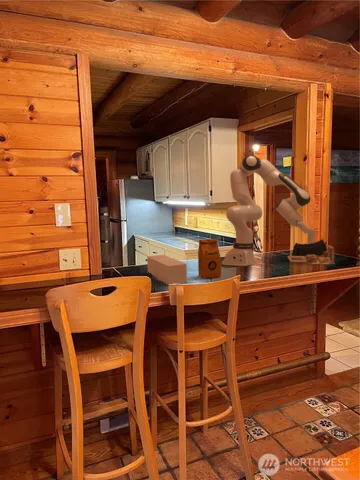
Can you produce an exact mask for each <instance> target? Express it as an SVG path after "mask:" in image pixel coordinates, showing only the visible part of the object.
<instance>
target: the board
mask: <svg viewBox="0 0 360 480" xmlns="http://www.w3.org/2000/svg"><path fill="white" fill-rule="evenodd" d="M309 230H310V232H311V234H312V236H309V235H308V234H307V240H306V242H307V243H306V244H309V243H314V242H315V238H316V229H315V228H309Z"/></svg>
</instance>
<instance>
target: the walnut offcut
mask: <svg viewBox="0 0 360 480" xmlns="http://www.w3.org/2000/svg"><path fill="white" fill-rule="evenodd" d="M305 259H306V260H307V262H306V263H307V264H308V263H317V260H318V257H317V258H313V259H309V258H307V256H305Z"/></svg>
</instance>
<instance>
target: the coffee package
mask: <svg viewBox="0 0 360 480" xmlns="http://www.w3.org/2000/svg"><path fill="white" fill-rule="evenodd" d="M218 244H219V243H218V238H209V239H208V238H207V239H205V238H203V239H198V251H197V256H198V257H197V259H198V260H197V262H198V264H197V265H198V266H197V268H198V269H197V270H198V276H199V277H201V278H204V279H209V278H221V276H222V260H221V253H220V250H219V245H218Z"/></svg>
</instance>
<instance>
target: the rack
mask: <svg viewBox="0 0 360 480" xmlns="http://www.w3.org/2000/svg"><path fill="white" fill-rule="evenodd" d="M307 264H309V265H311V264H313V265H318V264H319V265H321V264H322V265H335V247H333V246H331V245H327V256H318V259H317V263H307Z"/></svg>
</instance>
